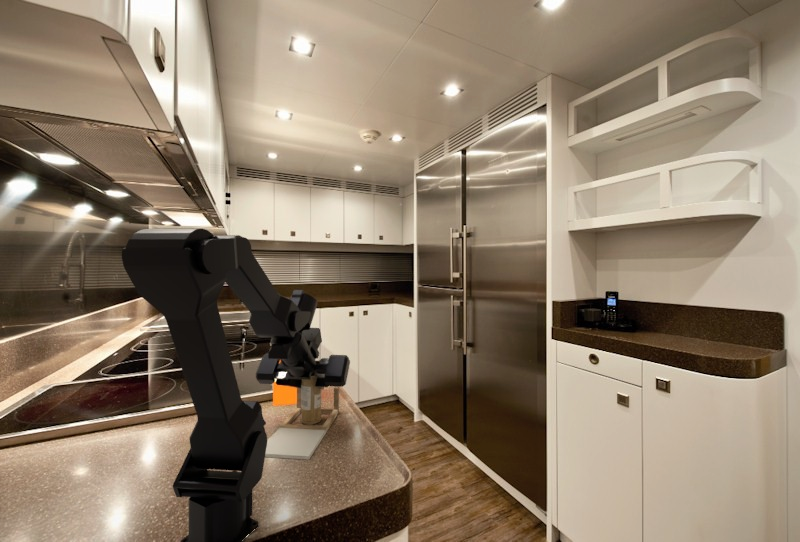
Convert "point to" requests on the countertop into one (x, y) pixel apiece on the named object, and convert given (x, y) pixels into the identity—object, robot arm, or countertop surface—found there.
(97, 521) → the countertop surface
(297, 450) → the mat
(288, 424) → the frame
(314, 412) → the sprinkles bottle
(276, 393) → the orange juice
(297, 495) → the countertop surface
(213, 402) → the robot arm
